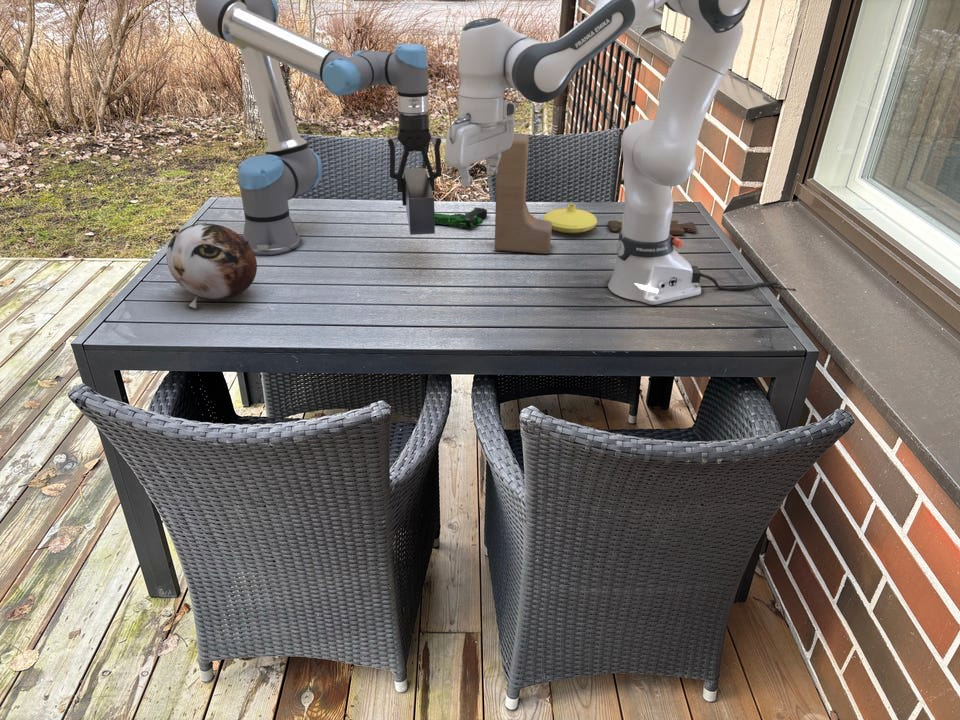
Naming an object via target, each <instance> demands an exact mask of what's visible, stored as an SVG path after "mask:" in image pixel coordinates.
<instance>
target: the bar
mask: <svg viewBox="0 0 960 720" xmlns="http://www.w3.org/2000/svg"><path fill="white" fill-rule="evenodd" d="M428 177H429V173H428V170H427V167H426V168H424V167H423V168H405V169H404V173H403V178H404V180H405V199H406V205H405V212H406V217H407V223H408V230H409V233H410V234H409V235H410V236H412V235H413V236H414V235H434V234H436V229H435V228H436V224H435V218H434V213H435V196H434V193H433V192H434V191H432V189H431V185H430V181H429V178H428Z"/></svg>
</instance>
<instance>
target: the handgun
mask: <svg viewBox="0 0 960 720" xmlns="http://www.w3.org/2000/svg"><path fill="white" fill-rule="evenodd" d="M486 217H488V209H486V208H484V207H474V208H473V209H472V210H471V211H469V212H465V213H464V214H462V213H453V214H447V213H436V212H434V218H435V225H442V226H443V225H444V226H452V227H456V228H462V229H465V230H473V229H474V228H476V227H477V226H478V225H482V224H483V220H484V219H485V218H486Z"/></svg>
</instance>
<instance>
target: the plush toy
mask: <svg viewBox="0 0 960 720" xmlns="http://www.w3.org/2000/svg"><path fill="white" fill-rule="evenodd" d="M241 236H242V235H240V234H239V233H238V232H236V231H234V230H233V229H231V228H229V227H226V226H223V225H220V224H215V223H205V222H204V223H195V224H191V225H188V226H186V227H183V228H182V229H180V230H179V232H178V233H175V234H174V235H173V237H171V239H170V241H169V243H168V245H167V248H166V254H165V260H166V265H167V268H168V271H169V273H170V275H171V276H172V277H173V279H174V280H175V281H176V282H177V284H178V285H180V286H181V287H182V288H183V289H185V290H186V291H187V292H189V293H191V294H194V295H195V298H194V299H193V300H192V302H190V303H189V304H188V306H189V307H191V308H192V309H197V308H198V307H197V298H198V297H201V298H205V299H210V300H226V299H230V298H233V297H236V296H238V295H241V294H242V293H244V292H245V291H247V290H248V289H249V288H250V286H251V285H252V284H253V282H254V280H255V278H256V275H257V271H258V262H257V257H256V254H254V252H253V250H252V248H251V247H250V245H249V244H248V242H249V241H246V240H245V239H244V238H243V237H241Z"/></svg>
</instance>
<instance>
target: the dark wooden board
mask: <svg viewBox="0 0 960 720" xmlns="http://www.w3.org/2000/svg"><path fill="white" fill-rule="evenodd" d="M607 224H608V229H609V231H610V232H613V233H615V232H616V233H617V232H620V231H621V230H622V222H621V221H619V220H615V219H614V220H608V221H607ZM682 228H683V229H682ZM688 229H689V230H688ZM693 230H696V231H697V228H696V224H695V223H694V222H691V221H690V222H683V223H682V222H681V223H679V221H678V220H673V219H671V224H670V231H669V234H671V235H685V233H686V232H687V233H696V231H693Z"/></svg>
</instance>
